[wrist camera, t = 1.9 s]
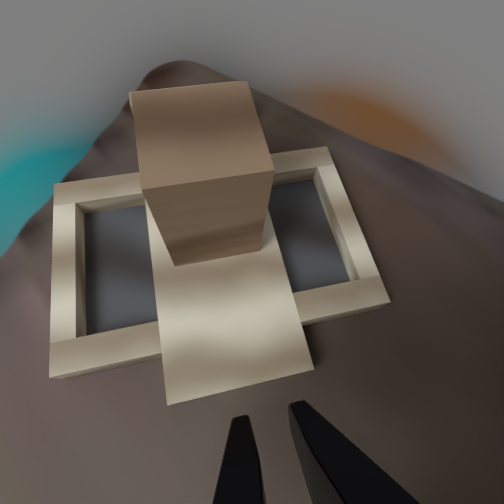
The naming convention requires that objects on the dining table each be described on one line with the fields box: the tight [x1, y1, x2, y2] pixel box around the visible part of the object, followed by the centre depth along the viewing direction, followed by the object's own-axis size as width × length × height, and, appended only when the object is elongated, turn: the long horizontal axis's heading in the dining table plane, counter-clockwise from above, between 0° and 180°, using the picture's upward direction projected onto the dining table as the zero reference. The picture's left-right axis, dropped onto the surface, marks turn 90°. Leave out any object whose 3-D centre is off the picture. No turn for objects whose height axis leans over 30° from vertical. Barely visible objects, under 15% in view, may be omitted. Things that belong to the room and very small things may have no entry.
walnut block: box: [131, 81, 275, 267], centre depth 19 cm, size 6×6×9 cm
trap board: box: [49, 81, 391, 405], centre depth 24 cm, size 24×22×4 cm
